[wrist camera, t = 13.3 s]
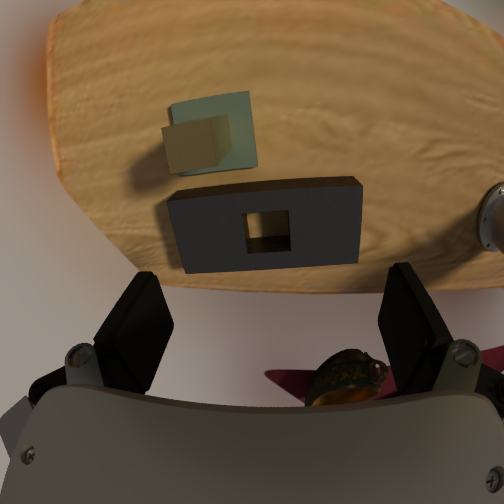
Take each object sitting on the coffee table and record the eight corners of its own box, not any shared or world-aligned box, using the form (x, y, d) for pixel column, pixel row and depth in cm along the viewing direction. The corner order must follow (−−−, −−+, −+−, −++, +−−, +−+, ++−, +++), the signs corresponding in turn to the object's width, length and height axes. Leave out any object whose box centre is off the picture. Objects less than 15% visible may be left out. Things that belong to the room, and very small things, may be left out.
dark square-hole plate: (353, 176, 31) (363, 185, 27) (350, 247, 36) (357, 263, 32) (177, 190, 33) (166, 201, 30) (193, 257, 38) (185, 273, 35)
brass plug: (228, 114, 27) (208, 118, 19) (232, 147, 29) (216, 166, 21) (193, 119, 28) (161, 128, 19) (199, 152, 30) (170, 174, 21)
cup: (392, 360, 49) (403, 399, 40) (311, 393, 56) (313, 431, 47) (374, 329, 44) (387, 374, 35) (281, 369, 51) (280, 412, 42)
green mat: (248, 91, 27) (248, 90, 26) (257, 165, 31) (257, 166, 30) (173, 104, 28) (170, 104, 27) (185, 174, 32) (183, 175, 31)
